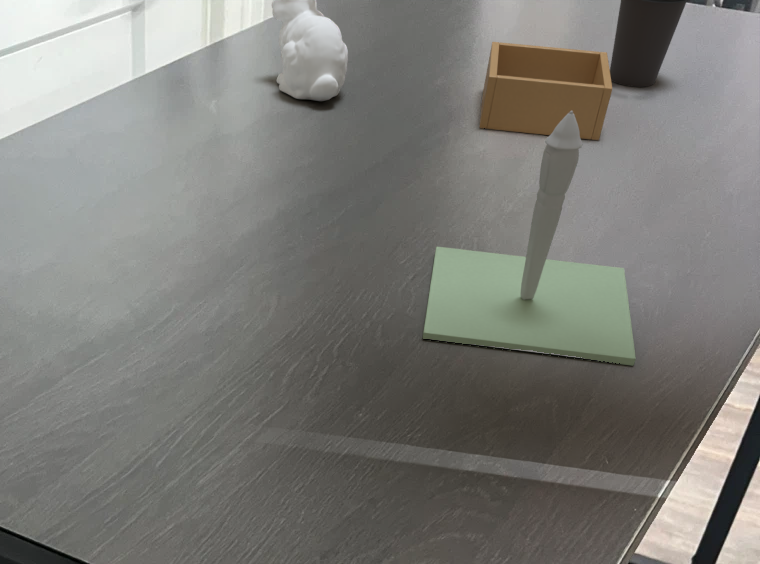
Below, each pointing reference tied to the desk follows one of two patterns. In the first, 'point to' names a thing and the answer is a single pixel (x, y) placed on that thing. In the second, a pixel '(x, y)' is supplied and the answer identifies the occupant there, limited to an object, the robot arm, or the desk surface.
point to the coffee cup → (643, 39)
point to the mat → (530, 306)
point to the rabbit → (309, 51)
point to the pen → (550, 198)
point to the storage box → (545, 89)
